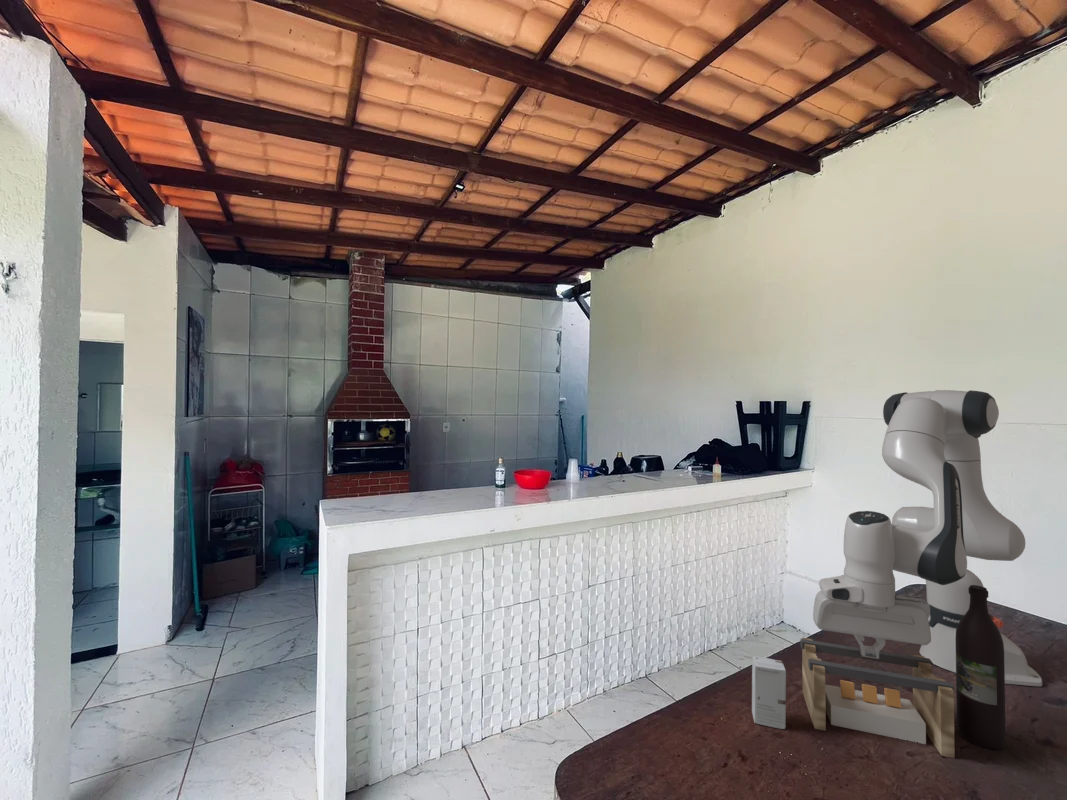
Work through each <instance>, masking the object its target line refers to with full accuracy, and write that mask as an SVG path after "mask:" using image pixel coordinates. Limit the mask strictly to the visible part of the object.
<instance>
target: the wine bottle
mask: <svg viewBox="0 0 1067 800" xmlns="http://www.w3.org/2000/svg"><path fill="white" fill-rule="evenodd" d="M968 589H969V594H970V605H969V609H968V611H967V612H966V614H965V615H964V616H963V618H962V619H961V620H960V622H959V623H958V625H957V629H956V638H955V639H956V673H955V686H956V687H955V688H956V689H955V690H956V691H955V693H956V695H955V696H956V697H955V698H956V700H955V701H956V729H957V731H958V733H959V734H960V735H961V736H962V737H963V738H964V739H966V740H967V741H969V742H970V743H973V744H975V745H977V746H980V747H982V748H986V749H989V750H1003V749H1004V748H1005V746H1006V744H1007V742H1006V740H1007V739H1006V736H1007V735H1006V731H1007V730H1006V729H1007V727H1006V684H1005V666H1004V644H1003V640H1002V636H1001V634H1002V633H1001V632H1000V630H999V628H997V626H996V625H995V623H994V622H993V620H992V618H991V617H990V615H989V614H990V613H989V608H988V598H989V591H988V589H987V588H986V587H985V586H983V587H982V586H977V585H970V587H969V588H968ZM1000 633H1001V634H1000Z"/></svg>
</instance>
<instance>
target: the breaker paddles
mask: <svg viewBox="0 0 1067 800" xmlns="http://www.w3.org/2000/svg"><path fill="white" fill-rule="evenodd" d="M839 687H840V689H841V696H842V697H846V698H851V699H855V690H856V689H855V683H854V682H853V681H850V680H849V681H848V680H842V679H839ZM883 689H884V691H883V692H884V695H885V703H886V705H889V706H894V707H899V708H901V700H900V698H901V693H900V690H898V689H893V688H888V687H884V688H883ZM861 691H862V694H863V700H864V701H867V702H873V703H878V698H877V694H878V689H877V686H876V685H871V684H864V683H861Z"/></svg>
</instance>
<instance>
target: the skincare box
mask: <svg viewBox="0 0 1067 800" xmlns="http://www.w3.org/2000/svg"><path fill="white" fill-rule="evenodd" d="M751 657H752V660H751V661H752V663H751V664H752V666H751V673H752V674H751V713H752V719H753V722H754V724H757V725H762V726H765V727H770V728H774V729H781V730H786V723H787V721H786V719H787V716H786V713H787V712H786V711H787V710H786V708H787V670H786V668H785V665H784V662H783V660H778V659H773V658H769V657H760V656H754V655H752V656H751Z"/></svg>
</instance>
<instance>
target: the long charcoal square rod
mask: <svg viewBox="0 0 1067 800" xmlns="http://www.w3.org/2000/svg"><path fill="white" fill-rule="evenodd" d="M812 640H813V639H812ZM812 640H806V639H802V638H800V648H801V650H802V649H804V650H805V644H809V645H815V647H816V652H817V653H818V652H819V653H824V654H830V655H831V654H832V655H836V656H842V657H849V658H855V659H861V660H868V661H875V662H880V663H886V664H894V665H898V666H899V665H900V666H903V667H912V668H913V667H916V668H918V662H924V663H930V664H931V665H932V671H933V670H934V669H933V666H934V664H933V662H932V661H931V660H930V659H929V658H923V657H916V656H912V655H909V654H901V653H896V652H895V653H894V652H890V651H889V652H888V651H881V650H880V651H879V659H875V658H870V657H863V656H862V655H861V653H860V647H858V646H857V647H856V646H850V645H844V644H837V643H833V642H832V643H829V642H824V641H818V640H813V641H812Z"/></svg>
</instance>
